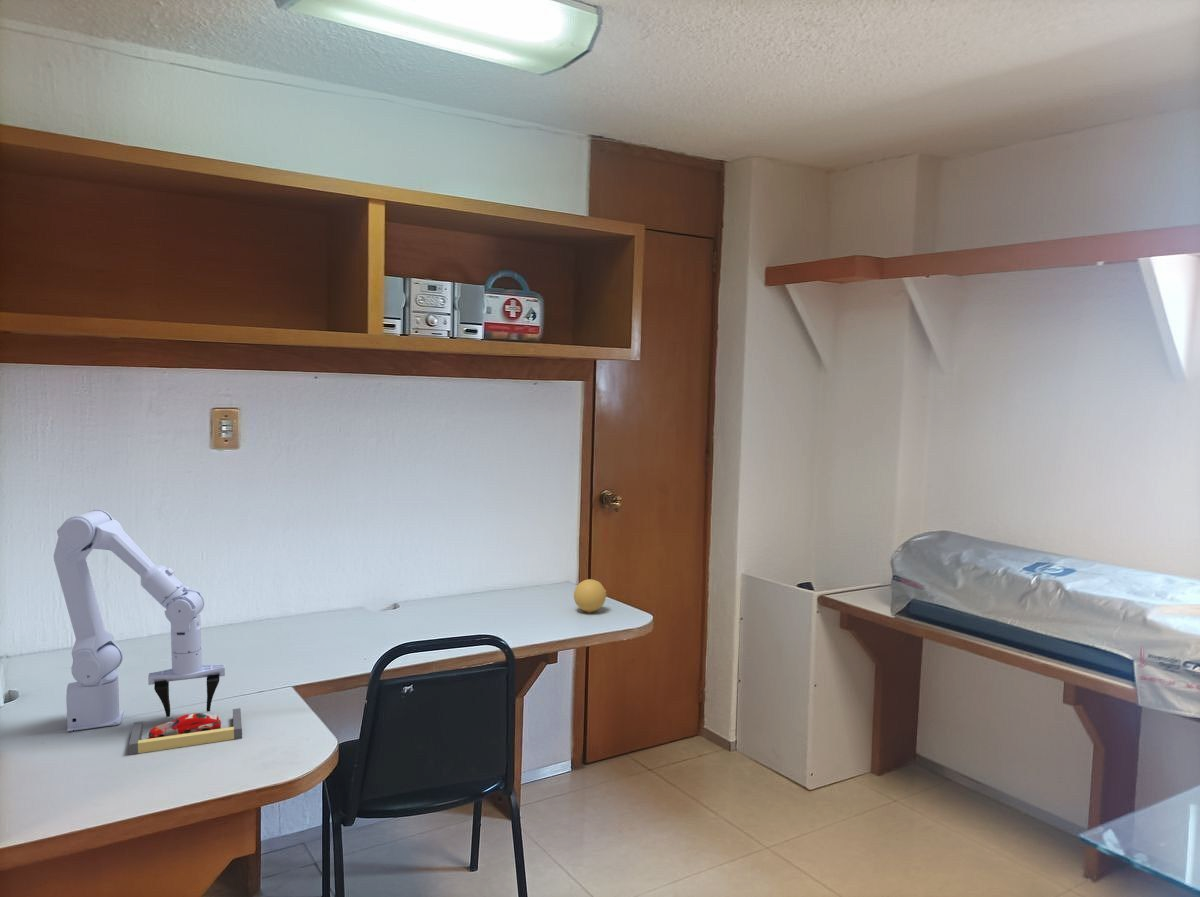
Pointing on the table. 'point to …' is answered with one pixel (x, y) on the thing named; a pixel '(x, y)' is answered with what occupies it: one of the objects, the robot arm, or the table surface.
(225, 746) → the table surface
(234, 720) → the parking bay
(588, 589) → the stress ball
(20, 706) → the table surface
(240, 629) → the table surface
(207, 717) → the race car
